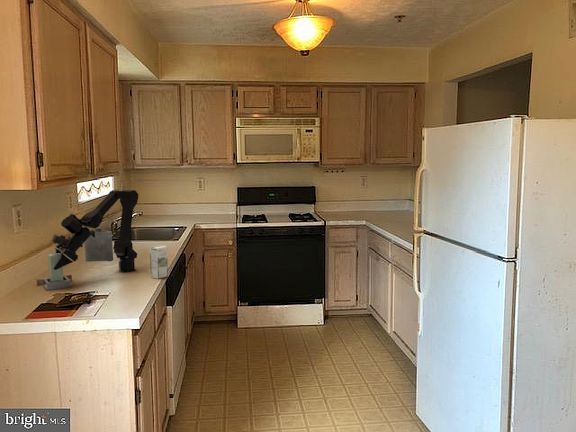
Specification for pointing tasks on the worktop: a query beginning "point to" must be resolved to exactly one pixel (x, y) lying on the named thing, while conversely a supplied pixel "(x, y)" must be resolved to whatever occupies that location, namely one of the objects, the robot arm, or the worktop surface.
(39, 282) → the brown wooden bar
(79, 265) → the worktop surface
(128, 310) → the worktop surface
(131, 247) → the robot arm
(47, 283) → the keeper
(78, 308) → the worktop surface
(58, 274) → the bar
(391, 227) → the worktop surface
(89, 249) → the flask
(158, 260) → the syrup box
